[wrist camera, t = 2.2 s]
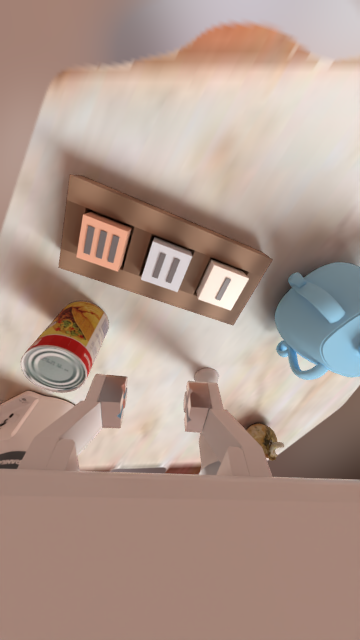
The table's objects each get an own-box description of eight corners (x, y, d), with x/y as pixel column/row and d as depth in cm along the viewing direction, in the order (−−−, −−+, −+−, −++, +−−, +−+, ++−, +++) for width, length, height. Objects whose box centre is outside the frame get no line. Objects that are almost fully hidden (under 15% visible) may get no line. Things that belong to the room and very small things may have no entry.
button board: (262, 251, 33) (272, 259, 30) (227, 312, 38) (233, 325, 35) (82, 175, 28) (69, 174, 24) (70, 258, 33) (58, 267, 29)
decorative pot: (257, 341, 42) (291, 402, 30) (280, 255, 34) (338, 293, 22) (342, 342, 43) (406, 401, 31) (385, 258, 34) (494, 296, 23)
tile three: (131, 227, 28) (127, 232, 25) (122, 264, 30) (117, 272, 28) (90, 211, 27) (82, 214, 24) (84, 251, 29) (75, 257, 27)
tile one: (243, 271, 31) (249, 279, 29) (226, 301, 34) (231, 311, 31) (210, 258, 30) (214, 265, 28) (196, 290, 33) (198, 299, 30)
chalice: (194, 361, 44) (206, 458, 28) (227, 366, 45) (257, 461, 29) (186, 387, 47) (193, 485, 32) (217, 391, 48) (238, 487, 33)
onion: (242, 418, 53) (252, 452, 47) (275, 417, 54) (290, 451, 47) (237, 436, 57) (246, 471, 50) (268, 436, 58) (281, 470, 51)
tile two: (190, 250, 30) (192, 257, 27) (177, 284, 32) (177, 292, 29) (154, 236, 28) (152, 241, 26) (143, 272, 31) (140, 279, 28)
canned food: (56, 300, 36) (10, 346, 26) (105, 300, 36) (79, 346, 26) (68, 340, 40) (32, 393, 30) (112, 339, 40) (92, 392, 30)
